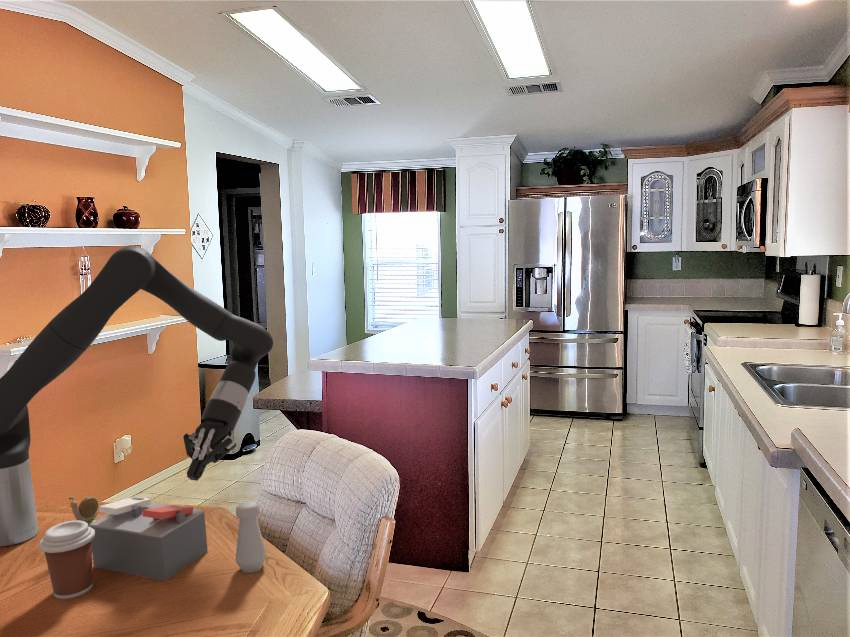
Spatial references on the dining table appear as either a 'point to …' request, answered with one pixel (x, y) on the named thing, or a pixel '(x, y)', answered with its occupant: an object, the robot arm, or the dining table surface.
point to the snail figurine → (85, 509)
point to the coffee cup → (69, 558)
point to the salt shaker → (249, 539)
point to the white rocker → (124, 505)
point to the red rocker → (167, 511)
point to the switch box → (148, 542)
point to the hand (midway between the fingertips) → (192, 478)
